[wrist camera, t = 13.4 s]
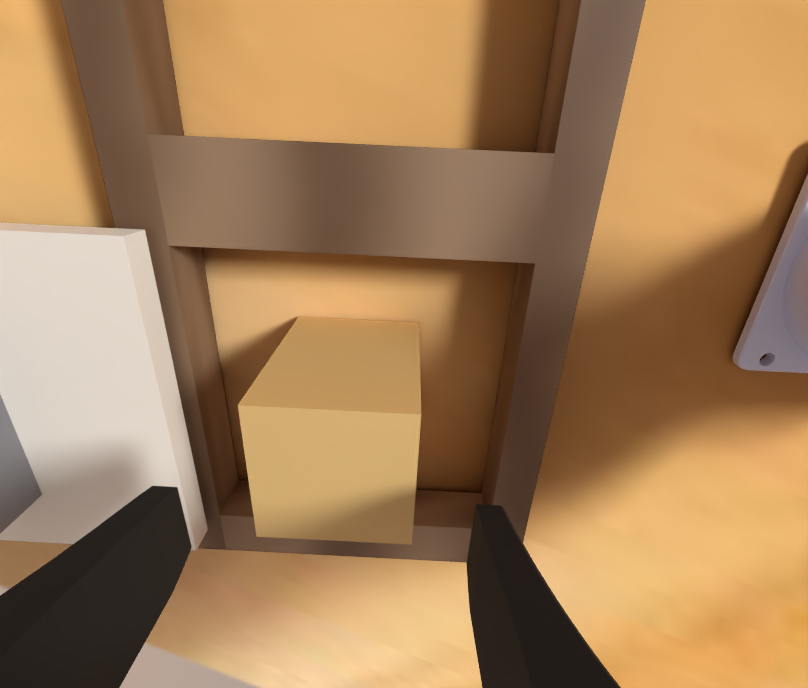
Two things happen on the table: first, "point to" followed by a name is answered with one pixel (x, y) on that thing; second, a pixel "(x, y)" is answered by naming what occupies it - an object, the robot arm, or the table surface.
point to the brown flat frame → (360, 237)
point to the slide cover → (85, 384)
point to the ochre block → (336, 432)
